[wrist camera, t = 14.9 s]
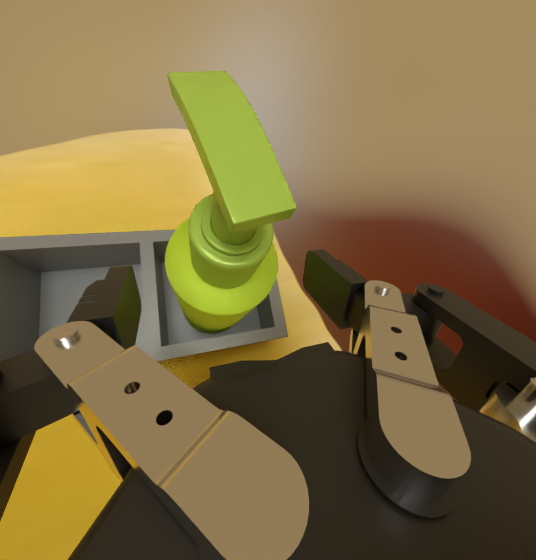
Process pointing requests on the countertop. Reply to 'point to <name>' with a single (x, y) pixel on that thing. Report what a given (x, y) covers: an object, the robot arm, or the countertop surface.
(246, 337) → the caddy
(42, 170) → the countertop surface
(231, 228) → the soap dispenser
